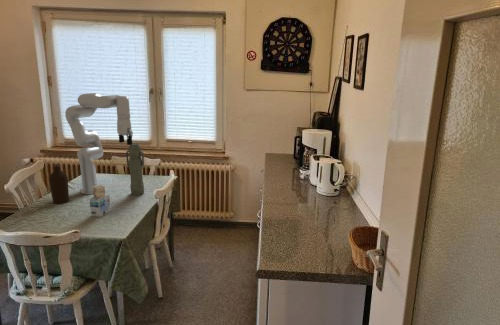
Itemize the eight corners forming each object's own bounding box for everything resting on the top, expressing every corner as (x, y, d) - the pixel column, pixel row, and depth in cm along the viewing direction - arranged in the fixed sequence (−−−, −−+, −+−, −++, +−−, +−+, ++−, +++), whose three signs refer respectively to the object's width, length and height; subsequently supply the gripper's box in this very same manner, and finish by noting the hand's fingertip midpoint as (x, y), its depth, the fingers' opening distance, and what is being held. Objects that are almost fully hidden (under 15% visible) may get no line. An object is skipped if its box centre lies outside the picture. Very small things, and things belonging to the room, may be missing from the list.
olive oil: (73, 198, 245) (68, 162, 239) (65, 204, 235) (61, 166, 229) (56, 198, 245) (52, 162, 239) (48, 204, 235) (43, 166, 228)
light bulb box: (100, 217, 216) (99, 199, 214) (90, 216, 218) (88, 198, 215) (111, 210, 226) (109, 193, 224) (101, 209, 228) (99, 192, 225)
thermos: (144, 195, 253) (141, 145, 244) (127, 195, 252) (123, 145, 243) (147, 191, 261) (144, 142, 252) (131, 191, 261) (127, 142, 252)
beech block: (93, 196, 219) (92, 186, 218) (101, 194, 223) (100, 184, 221) (97, 198, 216) (96, 188, 214) (105, 196, 219) (104, 186, 218)
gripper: (111, 115, 232) (113, 142, 236) (125, 118, 221) (127, 146, 225) (122, 114, 237) (124, 140, 242) (136, 117, 226) (138, 144, 230)
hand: (125, 143), depth 233 cm, fingers open, 9 cm apart
